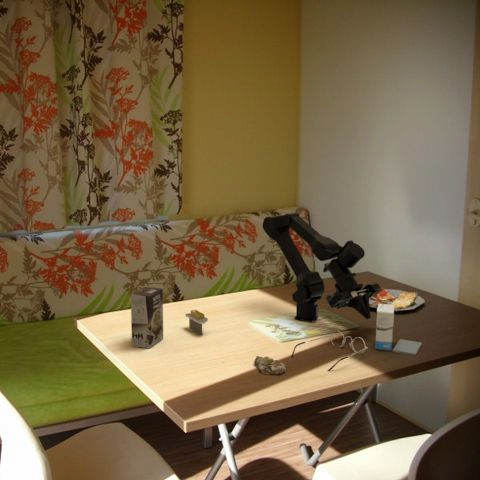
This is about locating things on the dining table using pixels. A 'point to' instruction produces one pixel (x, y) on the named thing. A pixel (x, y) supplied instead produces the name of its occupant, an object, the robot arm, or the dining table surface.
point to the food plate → (396, 299)
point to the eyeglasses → (338, 346)
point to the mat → (407, 347)
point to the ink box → (384, 327)
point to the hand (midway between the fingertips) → (369, 318)
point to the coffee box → (147, 317)
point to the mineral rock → (269, 365)
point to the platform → (196, 321)
